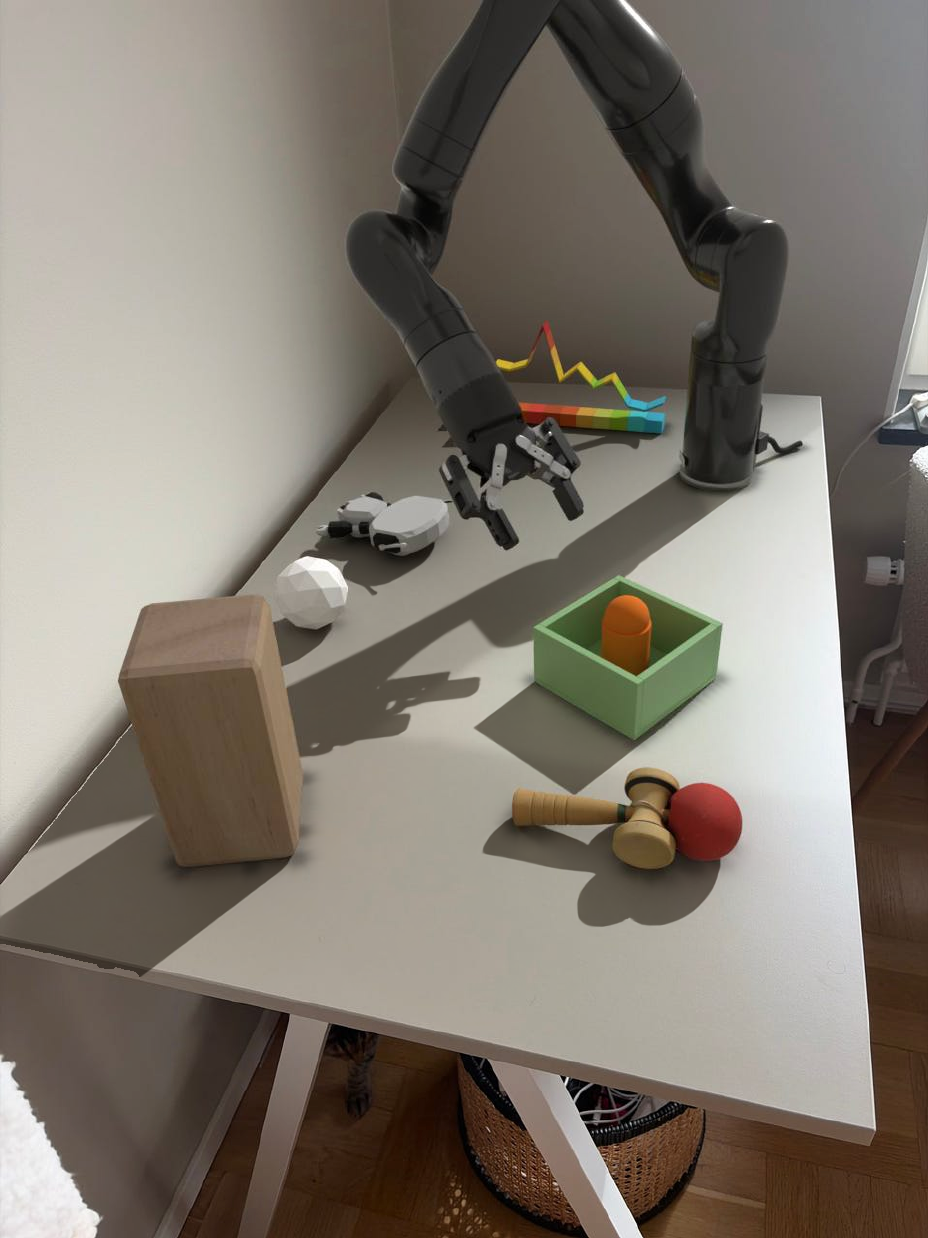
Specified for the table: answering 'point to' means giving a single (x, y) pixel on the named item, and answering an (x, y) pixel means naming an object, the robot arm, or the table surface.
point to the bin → (605, 689)
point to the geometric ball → (311, 592)
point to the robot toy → (391, 522)
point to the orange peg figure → (626, 634)
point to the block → (215, 728)
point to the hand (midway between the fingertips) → (545, 531)
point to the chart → (589, 415)
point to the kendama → (646, 818)
